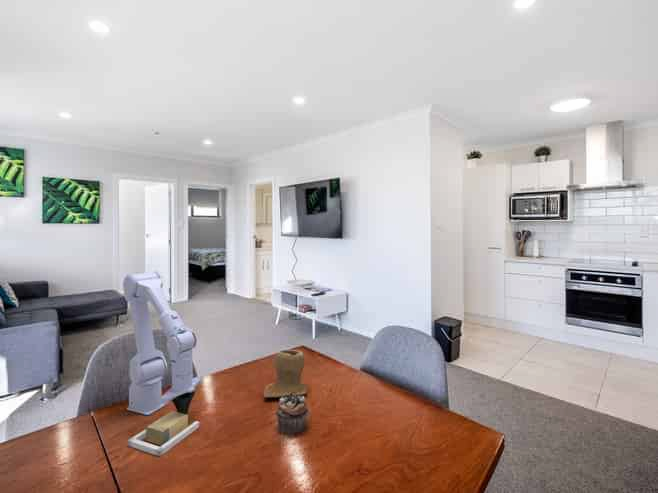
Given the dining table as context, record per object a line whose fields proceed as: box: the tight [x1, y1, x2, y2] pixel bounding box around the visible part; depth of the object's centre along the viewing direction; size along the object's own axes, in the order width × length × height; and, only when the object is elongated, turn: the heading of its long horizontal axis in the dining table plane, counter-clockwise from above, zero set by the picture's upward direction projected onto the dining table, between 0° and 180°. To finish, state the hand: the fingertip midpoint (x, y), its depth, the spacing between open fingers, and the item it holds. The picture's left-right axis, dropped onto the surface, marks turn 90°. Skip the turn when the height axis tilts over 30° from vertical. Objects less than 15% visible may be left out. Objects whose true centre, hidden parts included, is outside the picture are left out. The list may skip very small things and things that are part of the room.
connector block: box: [145, 410, 189, 447], centre depth 98 cm, size 6×9×4 cm
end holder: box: [127, 420, 200, 457], centre depth 97 cm, size 11×14×2 cm
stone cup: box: [263, 349, 308, 399], centre depth 123 cm, size 15×12×15 cm
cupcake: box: [275, 392, 309, 436], centre depth 102 cm, size 10×10×10 cm
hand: (182, 416), depth 103 cm, fingers closed
